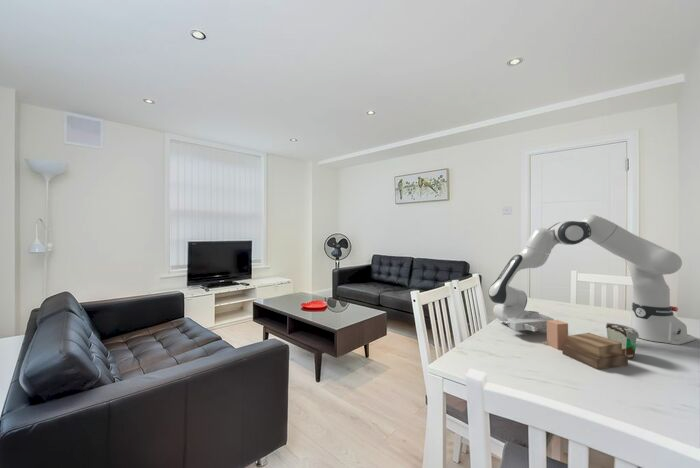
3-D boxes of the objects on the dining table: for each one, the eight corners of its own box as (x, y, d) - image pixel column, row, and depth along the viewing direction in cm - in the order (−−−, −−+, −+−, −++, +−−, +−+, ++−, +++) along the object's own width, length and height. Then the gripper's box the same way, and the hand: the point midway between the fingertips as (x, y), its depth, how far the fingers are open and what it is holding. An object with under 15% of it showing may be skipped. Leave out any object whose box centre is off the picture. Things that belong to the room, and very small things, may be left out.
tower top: (588, 343, 114) (588, 332, 114) (621, 354, 103) (621, 342, 103) (567, 346, 111) (567, 336, 111) (599, 358, 100) (599, 346, 100)
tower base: (590, 352, 115) (590, 342, 115) (628, 367, 102) (627, 355, 102) (562, 355, 112) (562, 345, 112) (597, 371, 99) (597, 359, 99)
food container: (648, 362, 104) (648, 334, 104) (628, 361, 105) (628, 333, 105) (623, 348, 116) (623, 323, 116) (605, 347, 118) (605, 322, 117)
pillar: (557, 343, 122) (557, 319, 122) (568, 348, 117) (567, 323, 117) (546, 344, 121) (546, 320, 121) (557, 349, 116) (557, 324, 116)
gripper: (501, 314, 137) (524, 323, 123) (539, 311, 141) (565, 319, 127) (501, 327, 137) (524, 338, 123) (539, 324, 141) (565, 334, 127)
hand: (545, 328), depth 125 cm, fingers open, 8 cm apart
